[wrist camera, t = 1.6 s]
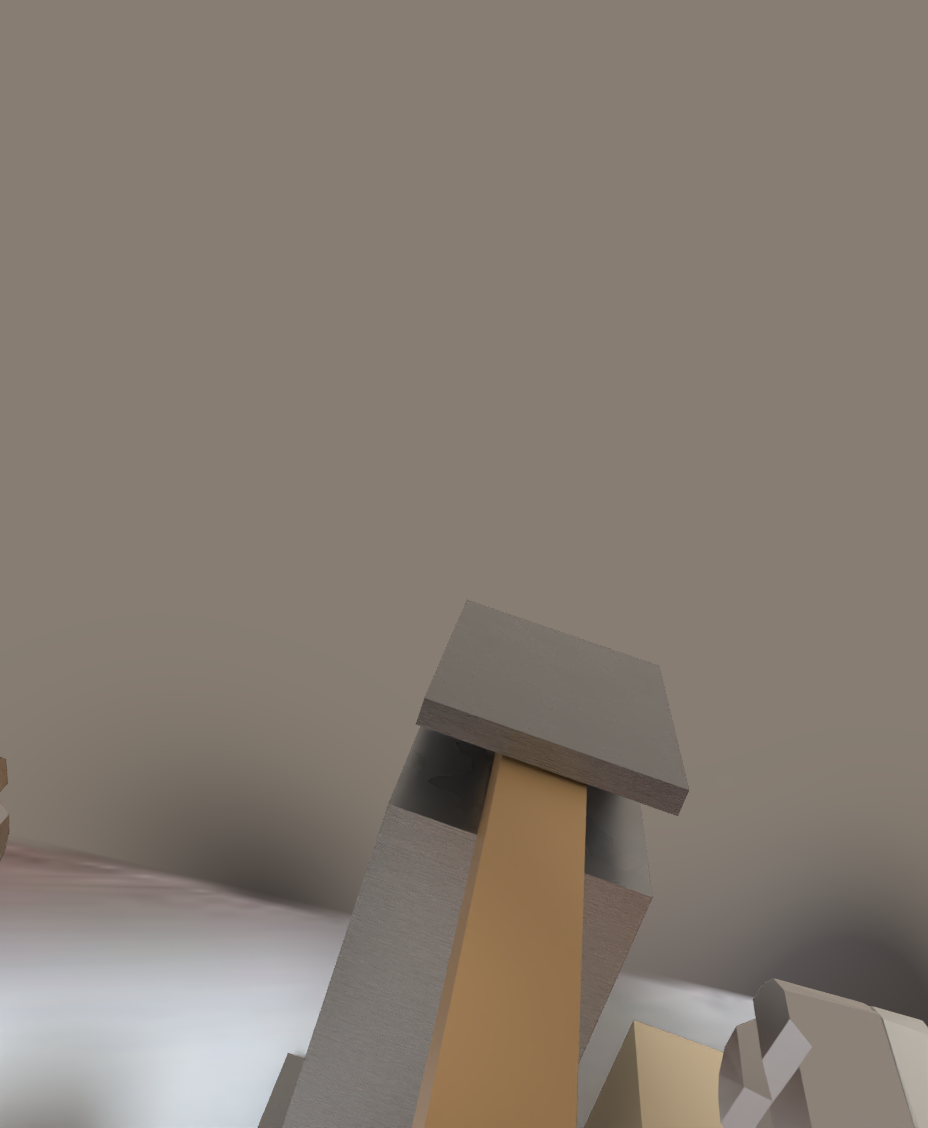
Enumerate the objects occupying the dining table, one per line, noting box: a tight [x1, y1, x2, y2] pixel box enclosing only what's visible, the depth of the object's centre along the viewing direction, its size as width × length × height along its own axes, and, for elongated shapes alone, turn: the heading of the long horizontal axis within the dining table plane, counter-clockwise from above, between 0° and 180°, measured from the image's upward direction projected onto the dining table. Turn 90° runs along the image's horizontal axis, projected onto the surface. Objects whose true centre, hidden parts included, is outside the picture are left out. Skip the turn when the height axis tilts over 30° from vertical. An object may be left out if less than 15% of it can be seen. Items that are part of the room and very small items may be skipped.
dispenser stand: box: [258, 600, 689, 1128], centre depth 37 cm, size 14×12×30 cm
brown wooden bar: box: [412, 753, 587, 1128], centre depth 24 cm, size 22×3×2 cm, turn 172°
